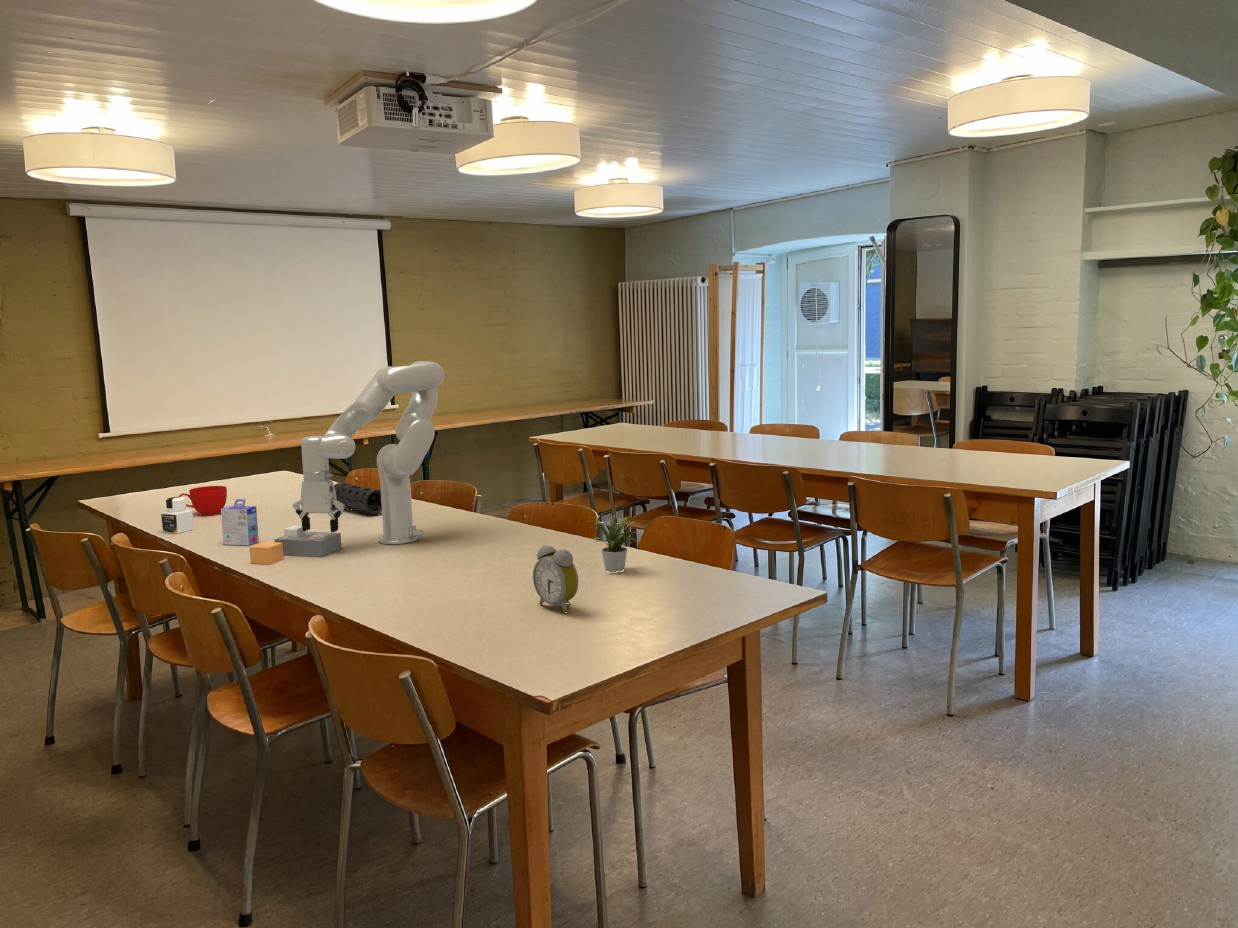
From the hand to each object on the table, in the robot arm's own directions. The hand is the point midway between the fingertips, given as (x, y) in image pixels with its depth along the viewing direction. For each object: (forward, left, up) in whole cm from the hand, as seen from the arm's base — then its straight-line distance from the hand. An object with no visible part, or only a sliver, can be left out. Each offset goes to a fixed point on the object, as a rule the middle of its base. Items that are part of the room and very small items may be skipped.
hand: (320, 530), depth 268 cm
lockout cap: (+10, +12, -7) cm, 18 cm away
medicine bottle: (+68, -20, -7) cm, 72 cm away
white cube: (+9, 0, -3) cm, 10 cm away
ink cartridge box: (+33, -6, -7) cm, 35 cm away
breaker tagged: (0, 0, -5) cm, 5 cm away
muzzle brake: (+22, -60, -7) cm, 65 cm away
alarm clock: (-90, +40, -7) cm, 98 cm away
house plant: (-95, +8, -7) cm, 95 cm away
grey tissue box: (+4, 0, -7) cm, 8 cm away
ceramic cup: (+79, -46, -7) cm, 92 cm away
